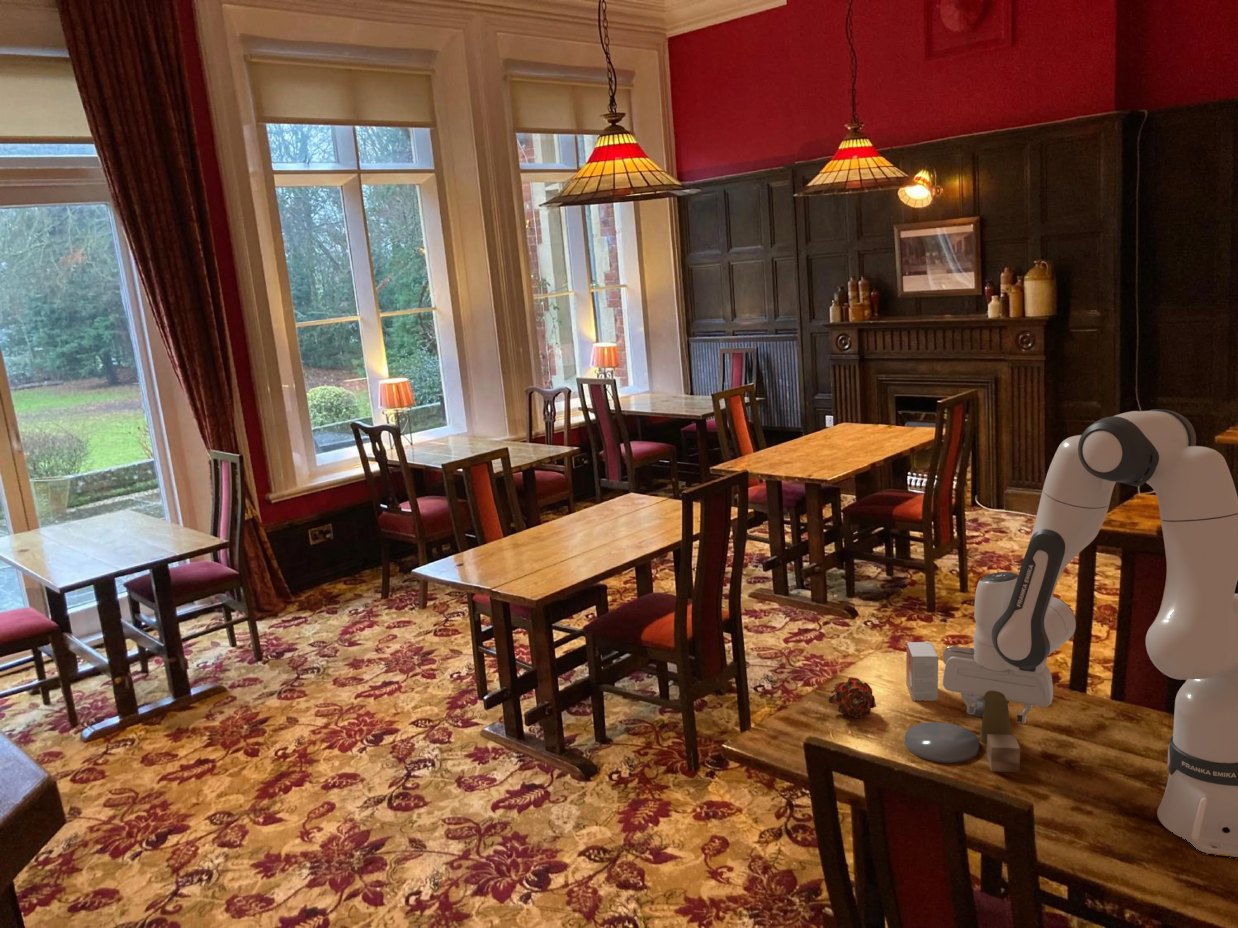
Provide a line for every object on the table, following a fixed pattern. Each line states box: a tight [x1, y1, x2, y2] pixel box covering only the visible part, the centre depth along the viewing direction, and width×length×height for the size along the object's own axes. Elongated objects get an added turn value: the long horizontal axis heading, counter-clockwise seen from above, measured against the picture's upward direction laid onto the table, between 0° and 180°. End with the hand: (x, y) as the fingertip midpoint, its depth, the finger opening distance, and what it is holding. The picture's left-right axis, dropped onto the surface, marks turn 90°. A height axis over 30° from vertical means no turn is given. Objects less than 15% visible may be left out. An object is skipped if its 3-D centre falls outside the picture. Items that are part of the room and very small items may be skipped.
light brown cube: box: [986, 734, 1021, 773], centre depth 183 cm, size 5×5×5 cm
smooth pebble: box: [904, 721, 980, 764], centre depth 192 cm, size 14×14×1 cm
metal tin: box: [969, 694, 985, 718], centre depth 203 cm, size 5×5×7 cm
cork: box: [979, 691, 1013, 744], centre depth 192 cm, size 6×6×11 cm
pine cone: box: [827, 676, 877, 719], centre depth 206 cm, size 8×8×12 cm
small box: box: [905, 641, 939, 702], centre depth 213 cm, size 8×6×10 cm
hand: (996, 716), depth 192 cm, fingers open, 8 cm apart
